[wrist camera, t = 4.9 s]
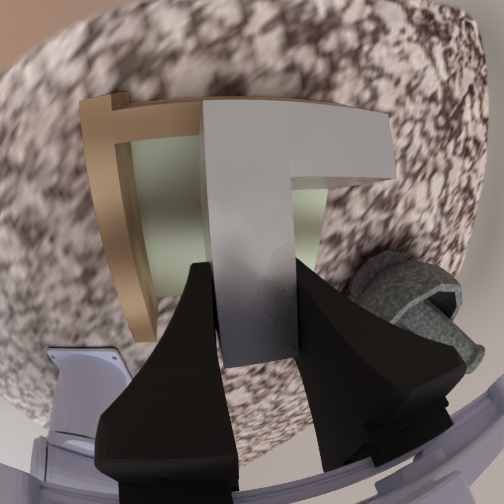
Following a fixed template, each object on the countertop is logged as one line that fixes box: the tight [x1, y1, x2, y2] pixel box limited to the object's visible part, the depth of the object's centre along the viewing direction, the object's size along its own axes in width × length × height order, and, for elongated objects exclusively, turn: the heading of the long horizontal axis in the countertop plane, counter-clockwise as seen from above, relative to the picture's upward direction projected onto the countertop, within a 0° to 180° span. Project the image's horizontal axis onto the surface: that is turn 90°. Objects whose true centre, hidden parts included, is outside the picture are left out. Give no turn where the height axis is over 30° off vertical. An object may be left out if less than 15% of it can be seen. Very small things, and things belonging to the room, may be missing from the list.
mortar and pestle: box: [350, 250, 485, 374], centre depth 20 cm, size 11×9×12 cm
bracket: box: [198, 100, 396, 369], centre depth 11 cm, size 8×6×5 cm
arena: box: [79, 91, 358, 343], centre depth 16 cm, size 15×14×4 cm
